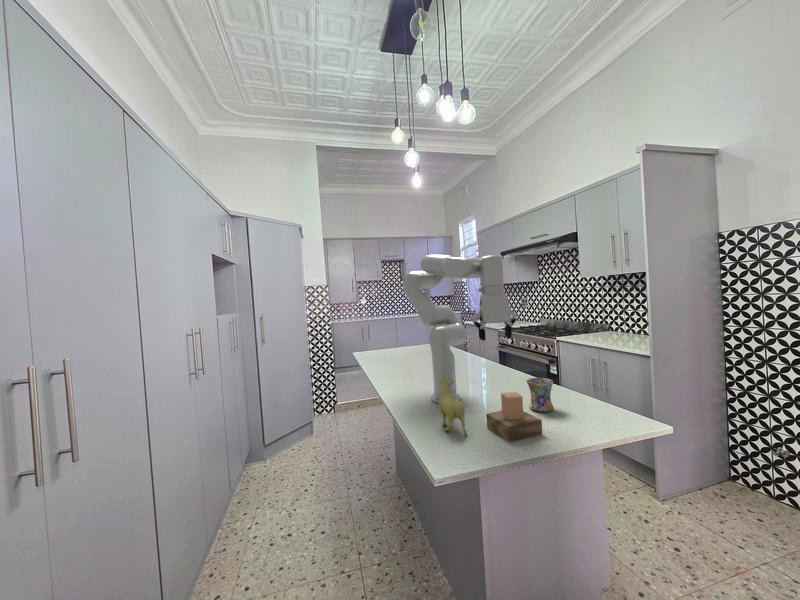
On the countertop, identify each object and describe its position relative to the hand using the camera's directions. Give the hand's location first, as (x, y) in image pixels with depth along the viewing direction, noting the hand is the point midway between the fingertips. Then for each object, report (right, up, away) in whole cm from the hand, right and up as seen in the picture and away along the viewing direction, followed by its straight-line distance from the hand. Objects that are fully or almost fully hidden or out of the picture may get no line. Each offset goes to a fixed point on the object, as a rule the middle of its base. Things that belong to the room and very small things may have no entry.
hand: (495, 338), depth 116 cm
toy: (-16, -30, -5) cm, 34 cm away
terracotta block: (+2, -24, -11) cm, 26 cm away
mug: (+19, -27, +7) cm, 34 cm away
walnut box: (+3, -29, -11) cm, 31 cm away
